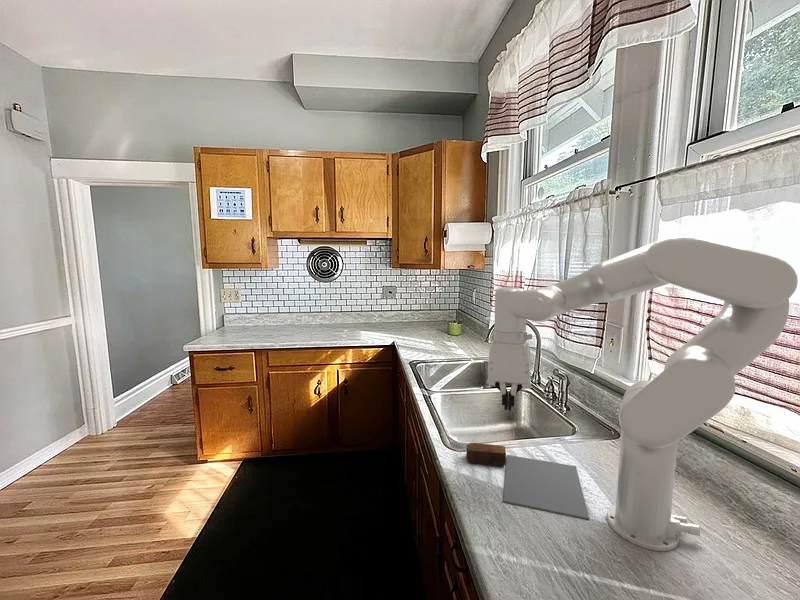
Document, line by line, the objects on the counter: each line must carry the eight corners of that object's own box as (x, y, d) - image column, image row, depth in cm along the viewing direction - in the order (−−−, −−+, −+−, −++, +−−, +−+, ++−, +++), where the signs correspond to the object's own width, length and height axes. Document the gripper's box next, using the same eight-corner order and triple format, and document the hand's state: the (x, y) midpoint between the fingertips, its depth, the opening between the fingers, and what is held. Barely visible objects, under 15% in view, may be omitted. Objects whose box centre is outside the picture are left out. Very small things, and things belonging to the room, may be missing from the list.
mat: (575, 467, 98) (575, 466, 98) (589, 519, 78) (589, 518, 78) (507, 456, 104) (507, 454, 104) (503, 502, 84) (503, 500, 84)
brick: (505, 467, 97) (504, 458, 102) (506, 453, 97) (504, 445, 102) (466, 463, 100) (466, 454, 104) (466, 449, 99) (466, 441, 104)
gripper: (541, 336, 90) (538, 406, 92) (480, 332, 95) (479, 399, 97) (542, 342, 83) (540, 418, 85) (477, 338, 88) (476, 410, 90)
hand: (507, 408), depth 91 cm, fingers closed
